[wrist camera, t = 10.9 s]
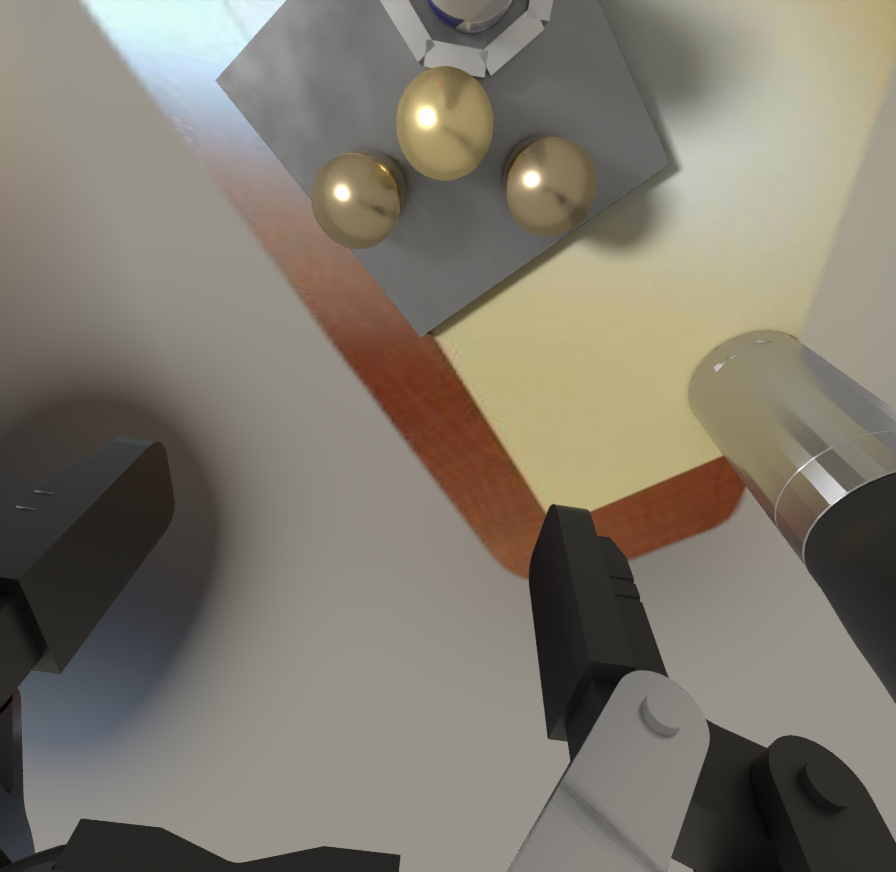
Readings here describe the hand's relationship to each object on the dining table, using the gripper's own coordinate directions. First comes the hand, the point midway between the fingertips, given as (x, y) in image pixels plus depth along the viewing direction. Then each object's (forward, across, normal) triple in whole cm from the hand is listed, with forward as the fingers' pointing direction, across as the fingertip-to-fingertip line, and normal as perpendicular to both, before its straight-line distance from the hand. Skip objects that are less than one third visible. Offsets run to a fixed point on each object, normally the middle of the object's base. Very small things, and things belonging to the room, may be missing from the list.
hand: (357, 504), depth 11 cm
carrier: (+29, 0, -7) cm, 30 cm away
